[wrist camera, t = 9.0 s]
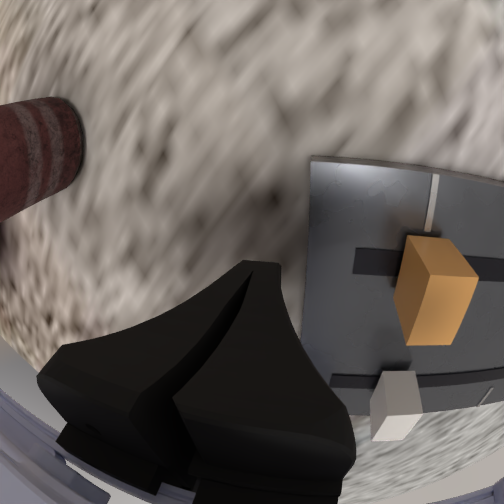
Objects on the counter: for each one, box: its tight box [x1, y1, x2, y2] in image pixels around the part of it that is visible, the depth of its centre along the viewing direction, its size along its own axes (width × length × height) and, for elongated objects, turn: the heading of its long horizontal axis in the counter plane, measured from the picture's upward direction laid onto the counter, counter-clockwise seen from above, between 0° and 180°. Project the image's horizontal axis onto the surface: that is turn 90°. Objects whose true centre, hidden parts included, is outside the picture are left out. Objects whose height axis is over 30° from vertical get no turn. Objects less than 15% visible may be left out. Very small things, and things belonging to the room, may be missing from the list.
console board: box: [301, 156, 504, 415], centre depth 13 cm, size 16×20×2 cm
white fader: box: [370, 371, 423, 441], centre depth 13 cm, size 3×2×3 cm, turn 2°
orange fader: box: [393, 235, 479, 346], centre depth 9 cm, size 3×2×3 cm, turn 2°
